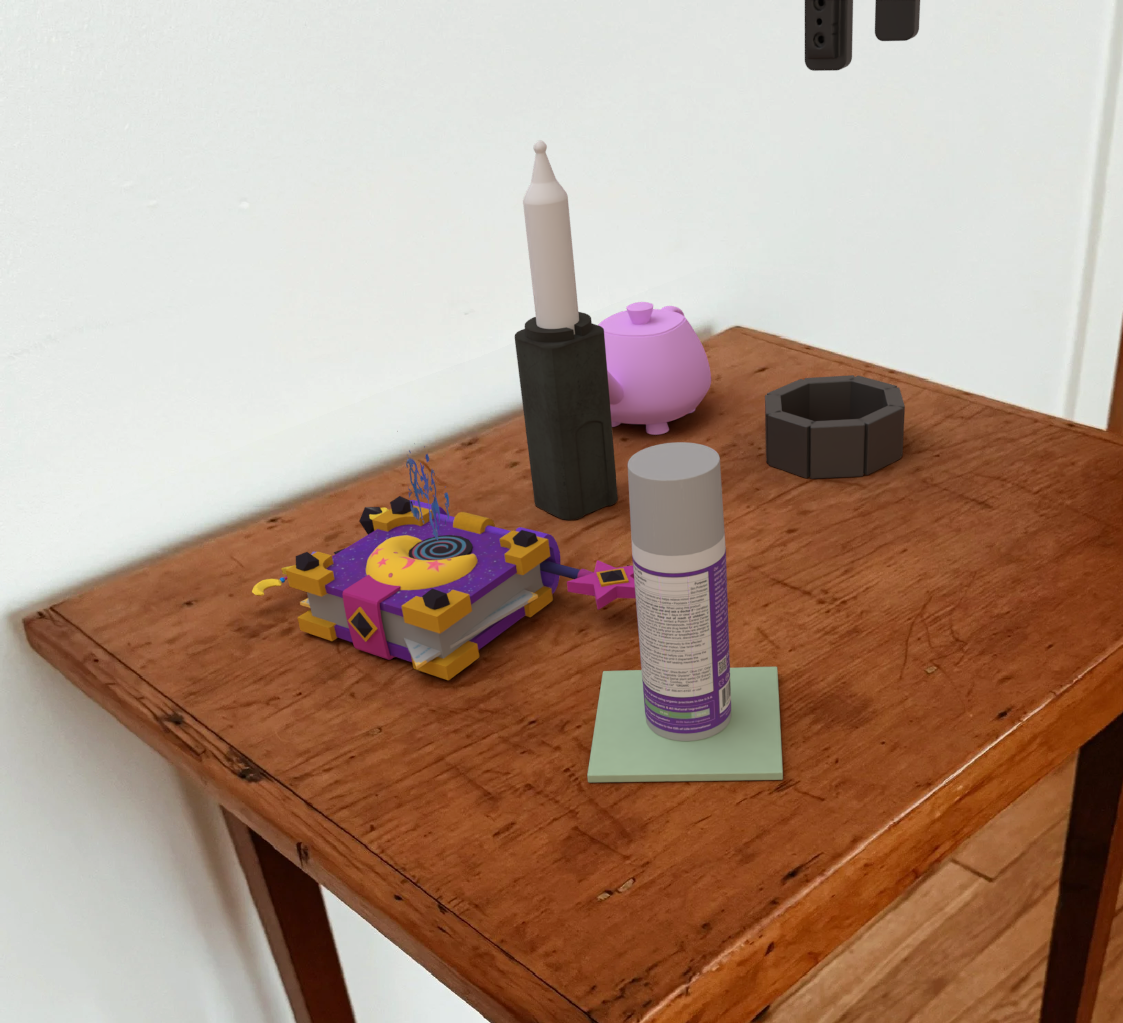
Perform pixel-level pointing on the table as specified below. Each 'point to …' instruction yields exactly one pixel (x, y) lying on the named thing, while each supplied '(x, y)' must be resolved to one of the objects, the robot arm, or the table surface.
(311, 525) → the table surface
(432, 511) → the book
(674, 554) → the container
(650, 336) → the teapot
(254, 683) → the table surface
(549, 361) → the candle
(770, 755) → the mat
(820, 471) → the ring
